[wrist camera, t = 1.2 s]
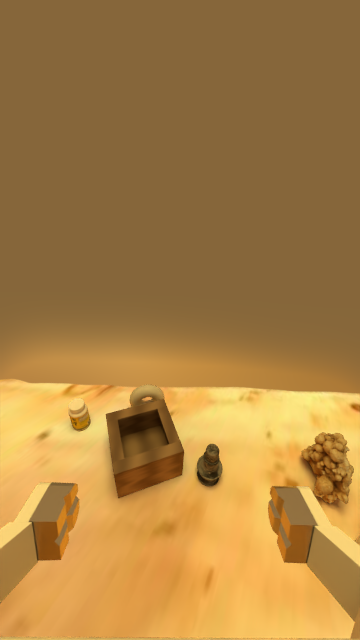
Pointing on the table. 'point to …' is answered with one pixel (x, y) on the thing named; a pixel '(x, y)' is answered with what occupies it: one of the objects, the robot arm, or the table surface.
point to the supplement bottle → (79, 414)
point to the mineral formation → (330, 466)
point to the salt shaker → (209, 466)
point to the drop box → (143, 447)
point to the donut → (145, 395)
